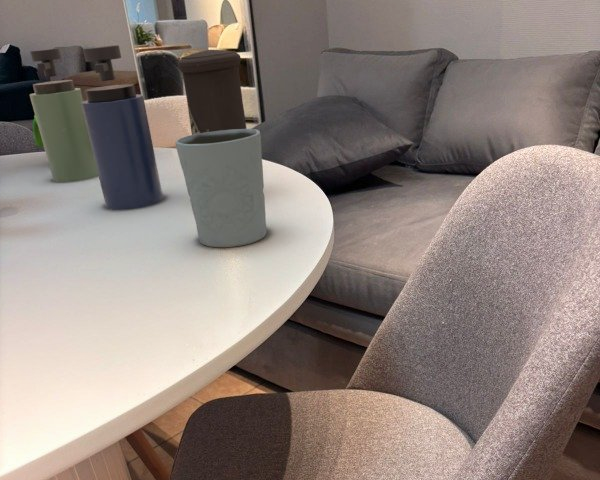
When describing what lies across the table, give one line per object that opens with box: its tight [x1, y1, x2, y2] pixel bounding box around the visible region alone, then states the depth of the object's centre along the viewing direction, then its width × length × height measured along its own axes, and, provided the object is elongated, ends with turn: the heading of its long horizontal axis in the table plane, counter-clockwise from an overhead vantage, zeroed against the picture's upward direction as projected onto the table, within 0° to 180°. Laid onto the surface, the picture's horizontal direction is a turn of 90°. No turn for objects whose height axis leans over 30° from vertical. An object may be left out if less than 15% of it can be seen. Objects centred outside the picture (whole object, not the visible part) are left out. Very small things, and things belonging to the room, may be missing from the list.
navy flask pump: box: [82, 44, 122, 82], centre depth 90 cm, size 8×5×4 cm, turn 7°
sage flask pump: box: [29, 47, 62, 78], centre depth 112 cm, size 8×5×4 cm, turn 7°
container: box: [177, 49, 247, 135], centre depth 94 cm, size 9×9×20 cm
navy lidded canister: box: [81, 83, 164, 211], centre depth 97 cm, size 9×9×16 cm
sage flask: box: [29, 79, 99, 183], centre depth 119 cm, size 9×9×16 cm
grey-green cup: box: [174, 128, 268, 248], centre depth 78 cm, size 10×10×12 cm
